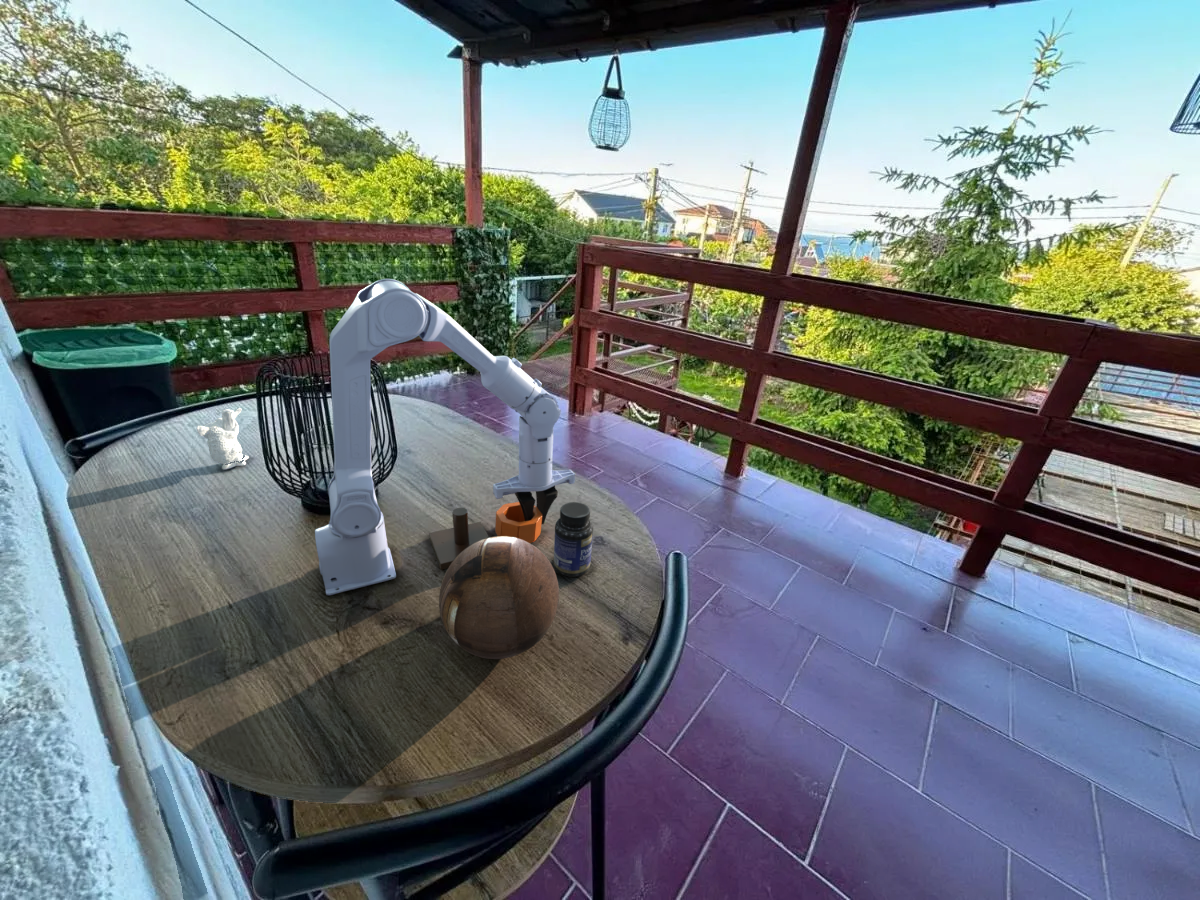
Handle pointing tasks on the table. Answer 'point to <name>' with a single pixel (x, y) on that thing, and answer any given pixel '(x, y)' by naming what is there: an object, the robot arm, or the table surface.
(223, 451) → the white sheep figurine
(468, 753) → the table surface
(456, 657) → the table surface
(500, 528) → the ring
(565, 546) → the pill bottle
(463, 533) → the peg stand
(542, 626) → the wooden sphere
